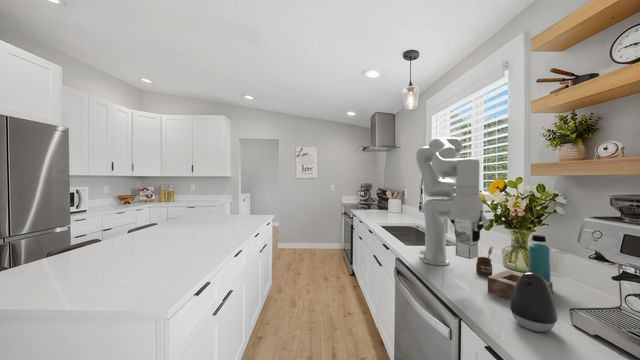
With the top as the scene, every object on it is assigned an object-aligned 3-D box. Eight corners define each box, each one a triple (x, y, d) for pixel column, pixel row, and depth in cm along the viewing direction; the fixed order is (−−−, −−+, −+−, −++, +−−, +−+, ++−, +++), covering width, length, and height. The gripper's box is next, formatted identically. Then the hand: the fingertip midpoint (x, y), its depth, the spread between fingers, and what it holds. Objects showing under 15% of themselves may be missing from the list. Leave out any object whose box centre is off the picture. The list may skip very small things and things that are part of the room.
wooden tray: (487, 293, 94) (487, 276, 94) (506, 285, 101) (506, 270, 101) (534, 309, 82) (534, 291, 82) (552, 299, 89) (552, 282, 89)
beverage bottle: (554, 291, 96) (554, 237, 96) (534, 289, 97) (534, 236, 97) (543, 284, 102) (543, 234, 102) (524, 283, 104) (524, 233, 104)
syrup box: (478, 257, 97) (479, 218, 96) (470, 259, 93) (470, 219, 93) (463, 253, 101) (463, 216, 101) (454, 255, 98) (455, 217, 98)
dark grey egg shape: (503, 324, 74) (503, 271, 74) (517, 313, 80) (517, 264, 80) (550, 342, 66) (550, 282, 66) (561, 329, 72) (561, 274, 72)
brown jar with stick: (473, 272, 116) (473, 245, 116) (486, 271, 116) (486, 245, 116) (481, 277, 110) (481, 248, 110) (496, 276, 111) (496, 248, 111)
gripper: (440, 190, 102) (439, 235, 103) (486, 193, 88) (485, 246, 88) (451, 189, 106) (451, 233, 107) (497, 192, 91) (497, 243, 92)
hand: (466, 238), depth 97 cm, fingers closed on syrup box, 5 cm apart
